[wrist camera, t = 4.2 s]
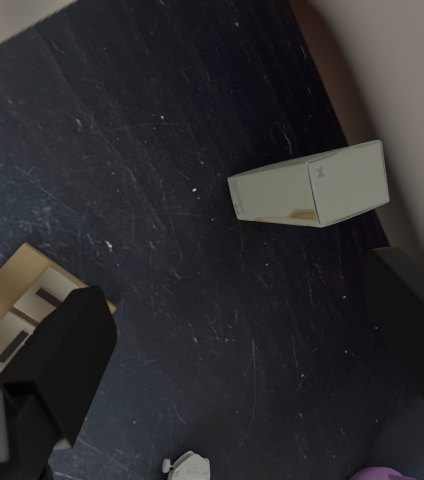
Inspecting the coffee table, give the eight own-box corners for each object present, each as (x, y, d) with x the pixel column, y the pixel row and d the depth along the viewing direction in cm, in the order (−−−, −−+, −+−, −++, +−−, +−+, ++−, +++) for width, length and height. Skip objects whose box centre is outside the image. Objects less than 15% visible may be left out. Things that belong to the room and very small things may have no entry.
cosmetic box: (236, 220, 31) (315, 232, 20) (225, 177, 30) (301, 161, 19) (291, 202, 33) (393, 203, 21) (282, 160, 32) (384, 137, 21)
